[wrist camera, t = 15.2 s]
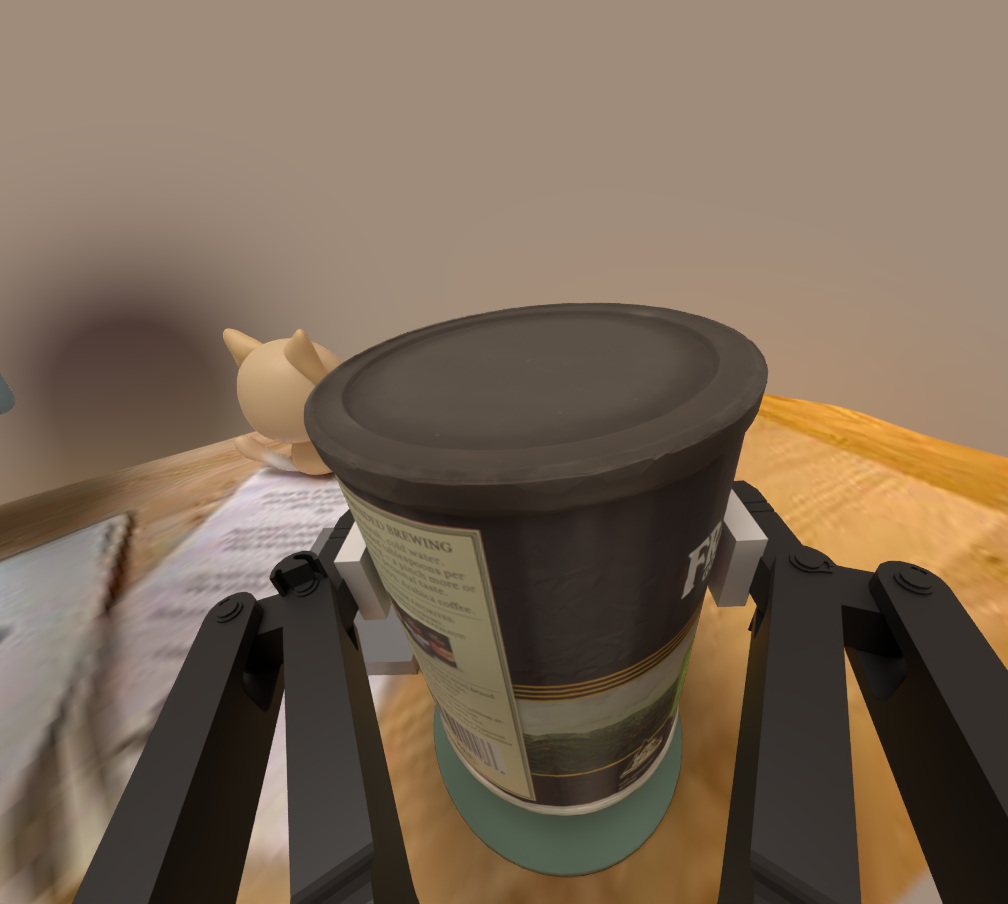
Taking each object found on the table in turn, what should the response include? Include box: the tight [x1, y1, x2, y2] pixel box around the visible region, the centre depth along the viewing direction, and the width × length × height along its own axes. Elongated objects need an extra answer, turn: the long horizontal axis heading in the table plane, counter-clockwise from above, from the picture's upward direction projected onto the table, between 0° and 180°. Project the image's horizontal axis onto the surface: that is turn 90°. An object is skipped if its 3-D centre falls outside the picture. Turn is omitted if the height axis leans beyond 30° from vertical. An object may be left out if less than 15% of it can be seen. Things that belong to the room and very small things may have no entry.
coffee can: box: [304, 303, 768, 816], centre depth 13 cm, size 10×10×14 cm
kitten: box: [223, 329, 342, 475], centre depth 38 cm, size 15×10×15 cm
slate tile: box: [310, 528, 419, 675], centre depth 27 cm, size 2×10×11 cm
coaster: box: [434, 705, 682, 877], centre depth 20 cm, size 12×12×1 cm
